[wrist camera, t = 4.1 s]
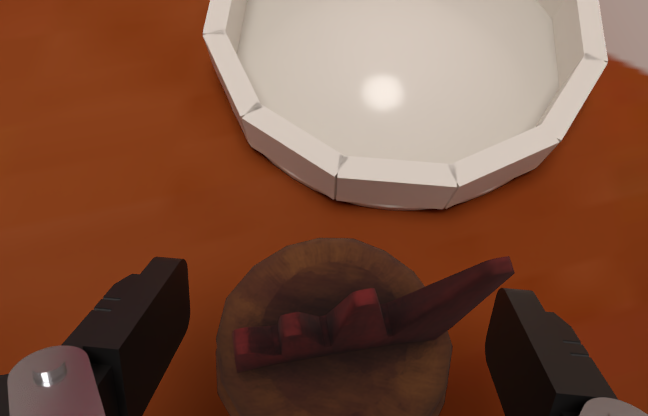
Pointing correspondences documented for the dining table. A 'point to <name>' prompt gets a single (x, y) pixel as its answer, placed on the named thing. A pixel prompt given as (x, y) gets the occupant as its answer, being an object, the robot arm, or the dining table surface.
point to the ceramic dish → (405, 90)
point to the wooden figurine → (342, 332)
